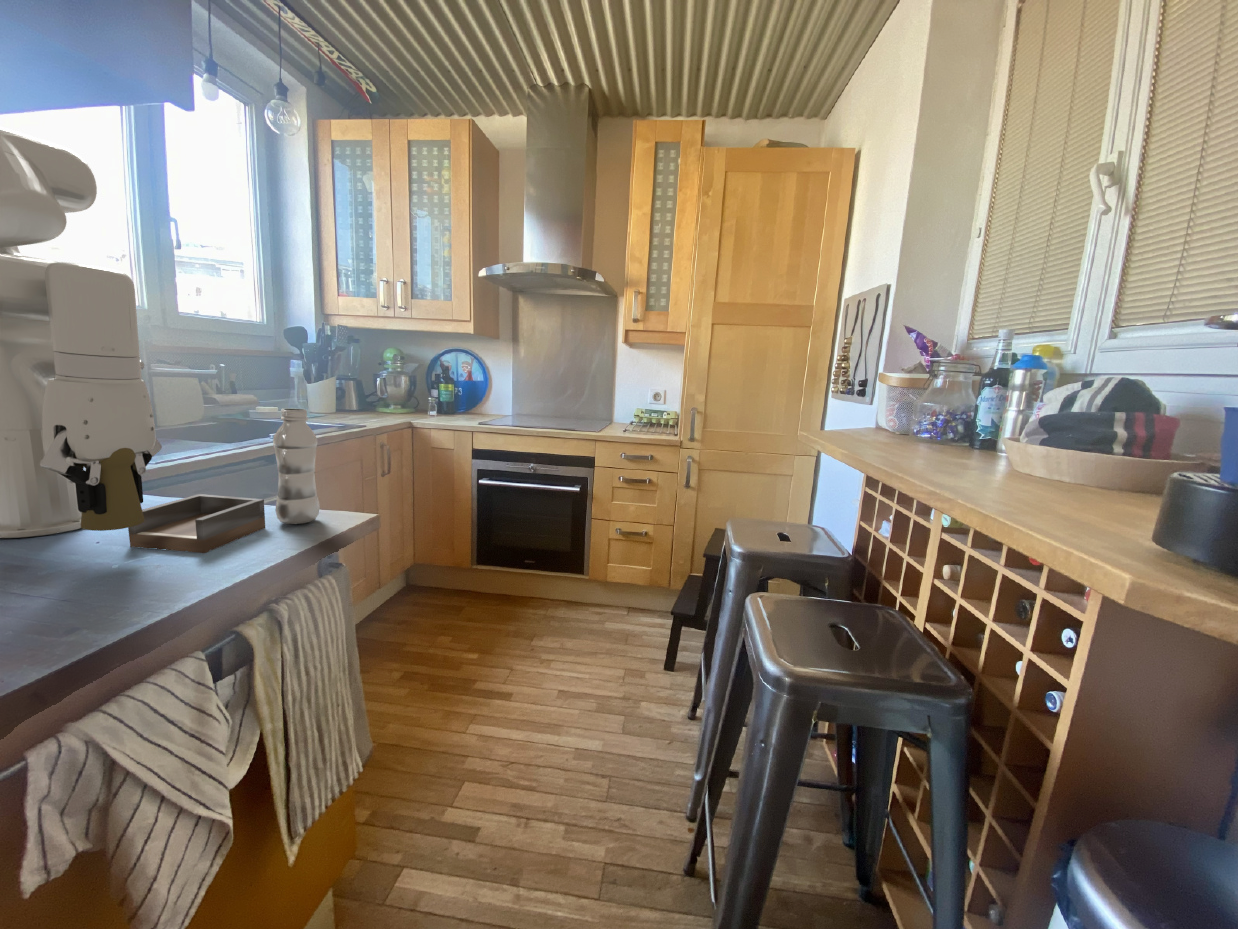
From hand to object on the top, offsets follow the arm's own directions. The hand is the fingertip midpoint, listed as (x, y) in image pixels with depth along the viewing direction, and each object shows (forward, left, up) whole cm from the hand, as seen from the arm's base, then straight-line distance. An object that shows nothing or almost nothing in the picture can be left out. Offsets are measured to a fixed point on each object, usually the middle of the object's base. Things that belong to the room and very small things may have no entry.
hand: (112, 506), depth 66 cm
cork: (0, 0, -3) cm, 3 cm away
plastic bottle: (+11, +21, -8) cm, 25 cm away
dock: (+3, +11, -8) cm, 13 cm away
